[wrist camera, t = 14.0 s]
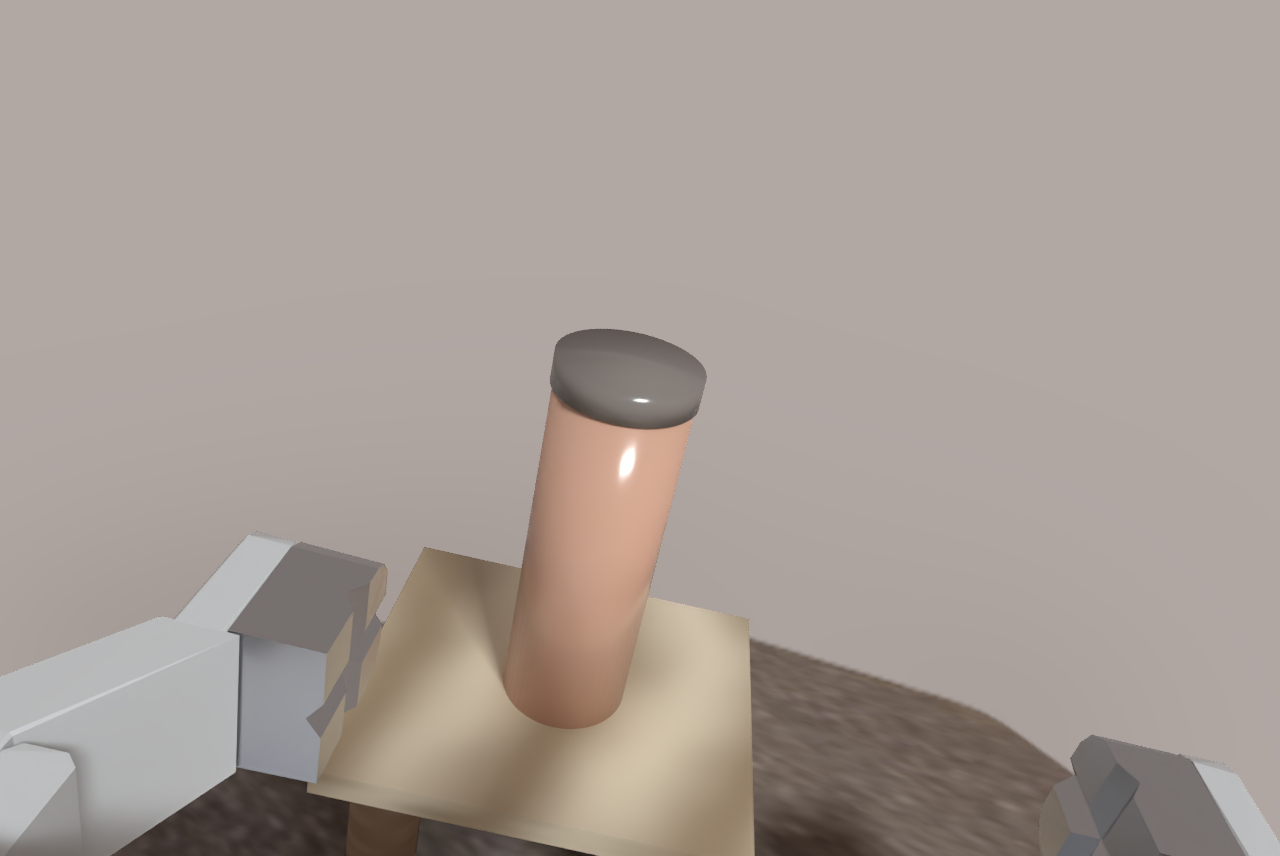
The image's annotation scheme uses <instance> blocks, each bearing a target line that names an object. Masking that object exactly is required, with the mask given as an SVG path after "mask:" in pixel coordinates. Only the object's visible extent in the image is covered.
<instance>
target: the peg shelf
mask: <svg viewBox="0 0 1280 856" xmlns="http://www.w3.org/2000/svg"><path fill="white" fill-rule="evenodd" d="M520 574H521V568H516V567H512V566H507V565H503V564H498V563H494V562H489V561H485V560H480V559H476V558H471V557H467V556H462V555H458V554H453V553H449V552H444V551H439V550H435V549H431V548H426V547H424V549H423V551H422V553H421V555H420V557H419V559H418V561H417V563H416V564H415V566H414V568H413V570H412V572H411V574H410V576H409V578H408V580H407V582H406V584H405V586H404V588H403V589H402V591H401V593H400V595H399V598H398V599H397V601H396V603H395V605H394V607H393V609H392V611H391V612H390V614H389V616H388V618H387V620H386V622H385V624H384V626H383V628H382V630H381V637H380V643H379V648H378V652H377V657H376V661H375V664H374V667H373V670H372V673H371V675H370V678H369V681H368V684H367V687H366V689H365V691H364V693H363V695H362V697H361V699H360V701H359V703H358V705H357V706H356V707H354V708H352V709H350V710H349V711H347V712H345V713H344V716H343V725H342V734H341V738H340V740H339V742H338V744H337V745H336V747H335V749H334V751H333V753H332V755H331V757H330V759H329V761H328V763H327V764H326V766H325V768H324V770H323V772H322V774H321V776H320V778H319V780H318V782H317V784H315V783H311V782H307V793H312V794H317V795H321V796H326V797H330V798H335V799H340V800H344V801H349V802H350V804H349V817H348V829H347V841H346V854H345V856H415V853H416V846H417V839H418V831H419V824H420V817H422V818H427V819H432V820H436V821H441V822H445V823H450V824H455V825H459V826H464V827H468V828H473V829H478V830H482V831H487V832H491V833H496V834H501V835H505V836H510V837H514V838H519V839H524V840H528V841H533V842H537V843H542V844H547V845H551V846H556V847H560V848H565V849H570V850H574V851H579V852H583V853H588V854H593V855H597V856H755V852H754V811H753V770H752V729H751V689H750V648H749V619H747V618H742V617H738V616H733V615H728V614H724V613H720V612H715V611H710V610H706V609H702V608H697V607H693V606H688V605H684V604H679V603H674V602H670V601H665V600H661V599H657V598H652V597H648V599H647V603H646V607H645V611H644V614H643V618H642V622H641V626H640V630H639V634H638V638H637V642H636V646H635V650H634V654H633V658H632V662H631V666H630V670H629V674H628V678H627V682H626V686H625V690H624V694H623V698H622V701H621V703H620V706H619V707H618V709H617V710H616V711H615V712H614V713H613V715H611V716H610V717H609V718H608V719H606V720H604V721H603V722H601V723H599V724H596V725H594V726H590V727H586V728H580V729H562V728H555V727H551V726H547V725H544V724H541V723H538V722H536V721H534V720H532V719H530V718H529V717H527V716H526V715H524V714H523V713H522V712H520V711H519V710H518V709H517V708H516V707H515V706H514V705H513V703H512V702H511V701H510V699H509V697H508V696H507V694H506V691H505V688H504V683H503V676H504V670H505V664H506V658H507V652H508V646H509V640H510V634H511V628H512V622H513V616H514V610H515V604H516V598H517V592H518V586H519V580H520Z"/></svg>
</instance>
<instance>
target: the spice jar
mask: <svg viewBox="0 0 1280 856" xmlns="http://www.w3.org/2000/svg"><path fill="white" fill-rule="evenodd" d="M706 378H707V376H706V371H705V369H704V367H703V366H702V364H701V363H700V362H699V361H698V360H697V359H696V358H695V357H693V356H692V355H690V354H689V353H688V352H686V351H685V350H683V349H681V348H679V347H677V346H675V345H673V344H671V343H668V342H666V341H664V340H661V339H658V338H655V337H651V336H648V335H644V334H639V333H635V332H630V331H623V330H614V329H590V330H582V331H577V332H574V333H570V334H568V335H566V336H564V337H563V338H561V339H560V340H559V341H558V342H557V344H556V347H555V352H554V358H553V364H552V370H551V376H550V384H551V387H552V390H551V396H550V402H549V408H548V414H547V420H546V426H545V432H544V438H543V444H542V450H541V456H540V462H539V467H538V474H537V480H536V486H535V492H534V497H533V503H532V509H531V515H530V522H529V527H528V533H527V539H526V545H525V551H524V557H523V563H522V568H521V574H520V580H519V586H518V592H517V598H516V604H515V610H514V616H513V622H512V628H511V634H510V640H509V646H508V652H507V658H506V664H505V670H504V676H503V683H504V688H505V691H506V694H507V696H508V697H509V699H510V701H511V702H512V703H513V705H514V706H515V707H516V708H517V709H518V710H519V711H520V712H522V713H523V714H524V715H526V716H527V717H529V718H530V719H532V720H534V721H536V722H538V723H541V724H544V725H547V726H551V727H555V728H562V729H580V728H586V727H590V726H594V725H596V724H599V723H601V722H603V721H604V720H606V719H608V718H609V717H610V716H611V715H613V713H614V712H615V711H616V710H617V709H618V707H619V706H620V703H621V701H622V698H623V694H624V690H625V686H626V682H627V678H628V674H629V670H630V666H631V662H632V658H633V654H634V650H635V646H636V642H637V638H638V634H639V630H640V626H641V622H642V618H643V614H644V611H645V607H646V603H647V599H648V595H649V590H650V587H651V582H652V579H653V574H654V571H655V567H656V563H657V559H658V555H659V551H660V547H661V543H662V539H663V535H664V531H665V527H666V523H667V519H668V515H669V511H670V507H671V503H672V500H673V496H674V492H675V487H676V484H677V480H678V476H679V472H680V468H681V464H682V460H683V456H684V452H685V448H686V444H687V440H688V436H689V432H690V428H691V424H692V420H693V417H694V416H695V415H696V414H697V412H698V410H699V406H700V402H701V398H702V394H703V390H704V386H705V383H706Z"/></svg>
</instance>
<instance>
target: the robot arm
mask: <svg viewBox="0 0 1280 856" xmlns="http://www.w3.org/2000/svg"><path fill="white" fill-rule="evenodd" d="M386 583H387V568H386V566H385V564H382V563H378V562H374V561H370V560H366V559H363V558H359V557H355V556H351V555H348V554H344V553H340V552H336V551H332V550H329V549H325V548H321V547H317V546H314V545H310V544H306V543H302V542H300V543H298V542H296V541H292V540H288V539H285V538H281V537H277V536H272V535H269V534H265V533H261V532H254V533H252V534H250V535H248V536H246V537H245V538H244V539H243V540H242V541H241V542H240V544H238V546H237V547H236V548H235V549H234V550H233V551H232V553H231V554H230V555H229V556H228V557H227V558H226V559H225V561H224V562H223V563H222V564H221V565H220V566H219V567H218V569H217V570H216V571H215V572H214V573H213V574H212V576H211V577H210V578H209V579H208V580H207V581H206V582H205V584H204V585H203V586H202V587H201V588H200V589H199V590H198V592H197V593H196V594H195V595H194V596H193V597H192V599H191V600H190V601H189V602H188V603H187V605H185V607H184V608H183V609H182V610H181V611H180V612H179V614H178V615H177V616H176V617H175V618H174V619H170V618H166V617H161V616H160V617H157V618H154V619H151V620H149V621H146V622H143V623H141V624H138V625H136V626H133V627H130V628H128V629H125V630H122V631H120V632H117V633H114V634H112V635H109V636H106V637H104V638H101V639H99V640H96V641H94V642H91V643H88V644H85V645H83V646H80V647H77V648H75V649H72V650H69V651H67V652H64V653H61V654H59V655H56V656H54V657H51V658H48V659H46V660H43V661H40V662H37V663H35V664H32V665H30V666H27V667H24V668H22V669H19V670H16V671H14V672H11V673H8V674H6V675H3V676H0V856H111V855H112V854H114V853H115V852H117V851H118V850H120V849H121V848H123V847H124V846H126V845H127V844H129V843H130V842H132V841H133V840H135V839H136V838H138V837H139V836H141V835H142V834H144V833H145V832H147V831H148V830H150V829H151V828H153V827H154V826H156V825H157V824H159V823H160V822H162V821H163V820H165V819H166V818H168V817H169V816H171V815H172V814H174V813H175V812H177V811H178V810H180V809H181V808H183V807H184V806H186V805H187V804H189V803H190V802H192V801H193V800H195V799H196V798H198V797H199V796H201V795H202V794H204V793H205V792H207V791H208V790H210V789H211V788H213V787H214V786H216V785H217V784H219V783H220V782H222V781H223V780H225V779H226V778H228V777H229V776H231V775H232V774H234V773H235V772H236V767H238V768H243V769H248V770H253V771H257V772H262V773H267V774H272V775H277V776H282V777H286V778H291V779H296V780H301V781H306V782H311V783H315V784H317V782H318V780H319V778H320V776H321V774H322V772H323V770H324V768H325V766H326V764H327V763H328V761H329V759H330V757H331V755H332V753H333V751H334V749H335V747H336V745H337V744H338V742H339V740H340V738H341V734H342V725H343V716H344V713H345V712H347V711H349V710H350V709H352V708H354V707H356V706H357V705H358V703H359V701H360V699H361V697H362V695H363V693H364V691H365V689H366V687H367V684H368V681H369V678H370V675H371V673H372V670H373V667H374V664H375V661H376V657H377V652H378V648H379V643H380V637H381V629H382V624H381V622H380V621H379V619H378V618H377V616H376V614H375V612H376V611H377V609H378V607H379V605H380V603H381V602H382V600H383V598H384V596H385V594H386ZM1070 759H1071V762H1072V765H1073V769H1074V773H1075V775H1074V776H1072V777H1070V778H1068V779H1066V780H1064V781H1062V782H1060V783H1058V784H1056V785H1054V786H1053V787H1052V789H1051V791H1050V793H1049V795H1048V797H1047V798H1046V800H1045V802H1044V804H1043V806H1042V810H1041V816H1040V822H1039V829H1038V833H1039V843H1040V851H1041V854H1042V856H1280V843H1279V841H1278V839H1277V838H1276V836H1275V834H1274V833H1273V831H1272V830H1271V828H1270V826H1269V825H1268V823H1267V822H1266V820H1265V818H1264V817H1263V815H1262V813H1261V812H1260V810H1259V809H1258V807H1257V805H1256V804H1255V802H1254V801H1253V799H1252V797H1251V796H1250V794H1249V793H1248V791H1247V789H1246V788H1245V786H1244V784H1243V783H1242V781H1241V780H1240V778H1239V776H1238V775H1237V774H1236V773H1235V772H1234V771H1233V770H1231V769H1230V768H1229V767H1227V766H1226V765H1225V764H1223V763H1218V762H1214V761H1209V760H1205V759H1199V758H1195V757H1191V756H1186V755H1181V754H1179V755H1175V754H1171V753H1168V752H1163V751H1159V750H1155V749H1151V748H1146V747H1142V746H1138V745H1133V744H1129V743H1125V742H1121V741H1116V740H1112V739H1108V738H1104V737H1099V736H1095V735H1091V736H1089V737H1088V738H1086V739H1085V740H1084V741H1082V742H1081V743H1080V744H1079V746H1078V747H1077V749H1076V751H1075V752H1074V754H1073V755H1072V757H1071V758H1070Z"/></svg>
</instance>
